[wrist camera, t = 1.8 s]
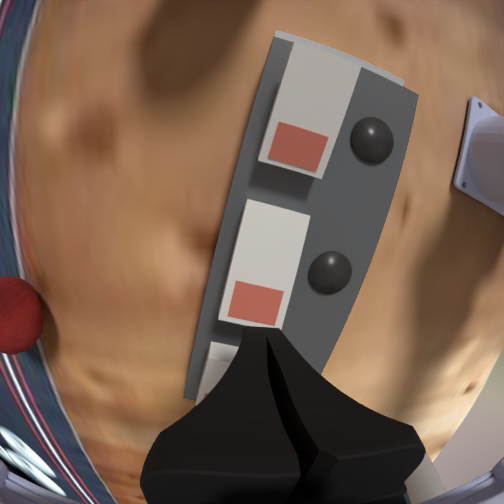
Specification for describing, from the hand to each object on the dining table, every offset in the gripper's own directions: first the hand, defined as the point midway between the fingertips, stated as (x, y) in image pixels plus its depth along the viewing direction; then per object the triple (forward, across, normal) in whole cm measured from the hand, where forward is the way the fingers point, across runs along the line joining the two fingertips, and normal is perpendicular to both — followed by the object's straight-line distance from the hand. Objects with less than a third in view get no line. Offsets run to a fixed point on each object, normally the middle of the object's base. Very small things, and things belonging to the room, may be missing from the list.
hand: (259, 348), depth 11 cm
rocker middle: (+5, 0, -2) cm, 5 cm away
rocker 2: (+5, -2, -9) cm, 11 cm away
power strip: (+10, -2, -1) cm, 10 cm away
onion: (+10, +18, +5) cm, 21 cm away
